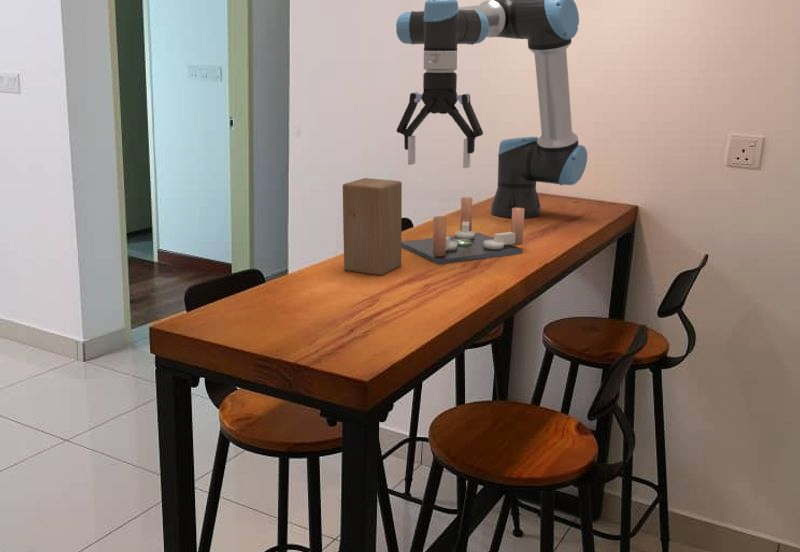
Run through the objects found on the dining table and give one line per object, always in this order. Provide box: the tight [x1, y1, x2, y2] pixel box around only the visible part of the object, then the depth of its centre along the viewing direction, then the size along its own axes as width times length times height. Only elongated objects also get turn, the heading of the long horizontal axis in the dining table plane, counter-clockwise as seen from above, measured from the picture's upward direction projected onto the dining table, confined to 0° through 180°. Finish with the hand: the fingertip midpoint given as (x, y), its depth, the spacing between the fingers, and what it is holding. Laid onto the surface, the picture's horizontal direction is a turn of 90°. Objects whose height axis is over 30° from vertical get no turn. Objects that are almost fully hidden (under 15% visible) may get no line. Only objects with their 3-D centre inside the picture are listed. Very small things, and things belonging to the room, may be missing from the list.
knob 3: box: [483, 208, 525, 249], centre depth 198 cm, size 11×5×9 cm, turn 117°
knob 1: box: [432, 215, 457, 256], centre depth 193 cm, size 11×5×9 cm, turn 162°
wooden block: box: [342, 177, 403, 276], centre depth 182 cm, size 10×10×20 cm
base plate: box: [401, 232, 524, 266], centre depth 201 cm, size 24×20×2 cm
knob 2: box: [454, 196, 476, 239], centre depth 210 cm, size 11×5×9 cm, turn 173°
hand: (438, 165), depth 185 cm, fingers open, 13 cm apart
